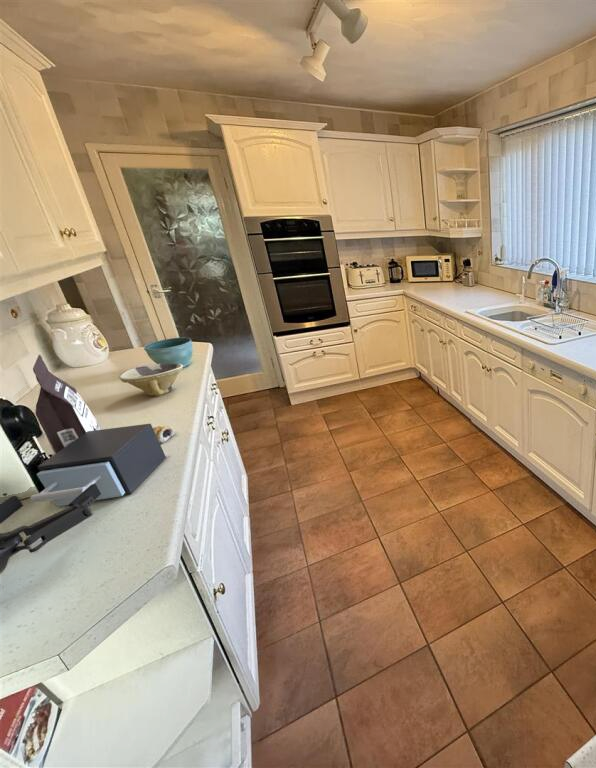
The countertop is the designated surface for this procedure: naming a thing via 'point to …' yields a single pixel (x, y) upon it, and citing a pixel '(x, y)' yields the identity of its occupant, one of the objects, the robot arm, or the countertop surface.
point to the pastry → (163, 433)
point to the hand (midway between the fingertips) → (57, 494)
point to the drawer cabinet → (114, 453)
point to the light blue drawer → (78, 482)
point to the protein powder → (61, 409)
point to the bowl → (153, 377)
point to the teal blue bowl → (171, 351)
